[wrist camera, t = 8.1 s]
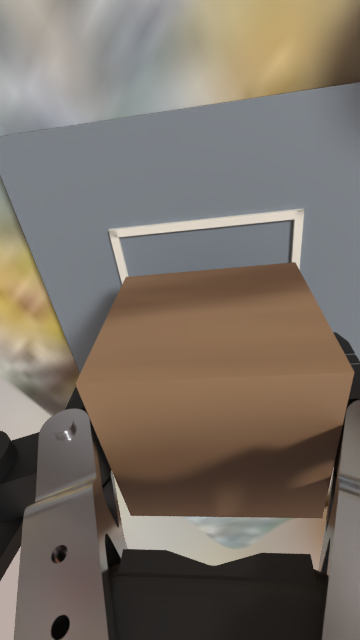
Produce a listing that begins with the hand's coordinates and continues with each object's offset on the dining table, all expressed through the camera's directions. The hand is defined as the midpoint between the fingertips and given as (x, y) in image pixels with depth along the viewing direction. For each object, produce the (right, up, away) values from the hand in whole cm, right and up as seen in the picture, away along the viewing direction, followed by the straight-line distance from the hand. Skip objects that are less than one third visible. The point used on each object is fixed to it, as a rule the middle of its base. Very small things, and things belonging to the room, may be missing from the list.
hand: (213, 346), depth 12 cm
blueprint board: (0, +2, +3) cm, 4 cm away
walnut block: (0, 0, +1) cm, 1 cm away
